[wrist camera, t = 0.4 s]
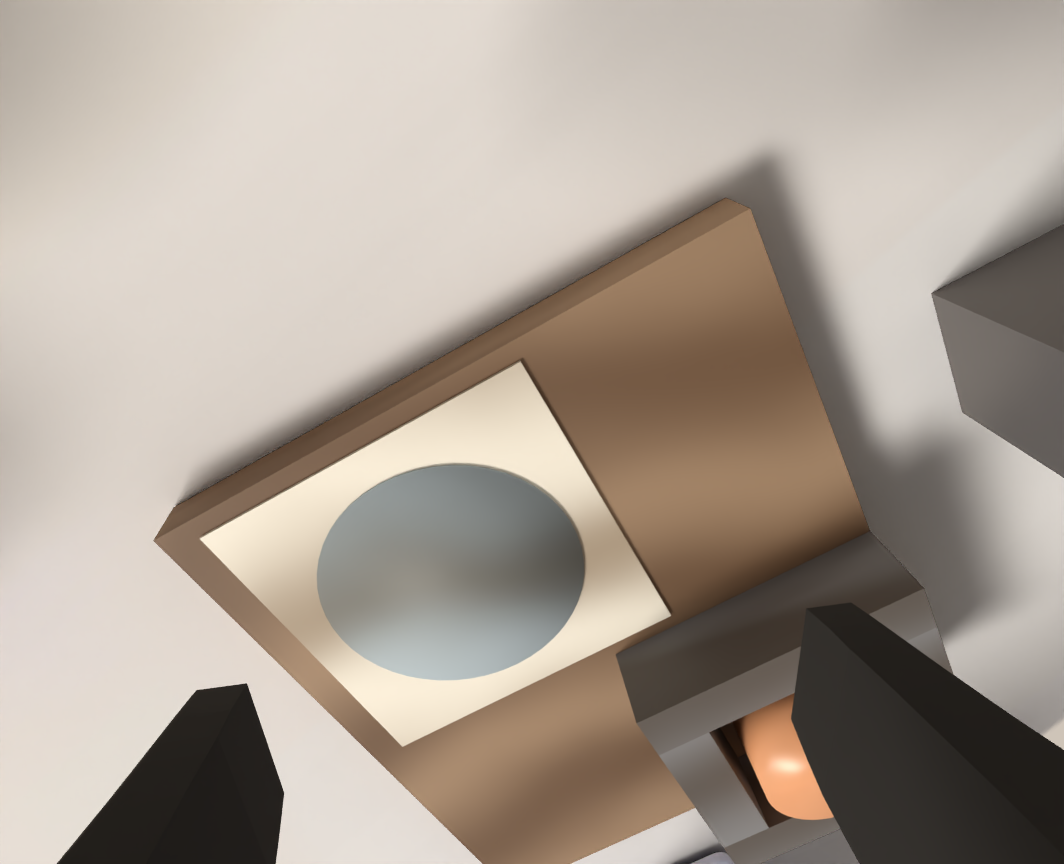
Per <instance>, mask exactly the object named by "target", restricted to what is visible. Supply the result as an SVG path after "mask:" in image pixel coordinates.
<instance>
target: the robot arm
mask: <svg viewBox="0 0 1064 864" xmlns="http://www.w3.org/2000/svg"><path fill="white" fill-rule="evenodd" d="M791 720H792V723H793V725H794V728H795V730H796V733H797V735H798V738H799V740H800V743H801V745H802V748H803V750H804V753H805V755H806V758H807V760H808V763H809V765H810V767H811V770H812V772H813V774H814V777H815V779H816V781H817V784H818V786H819V788H820V791H821V793H822V795H823V797H824V799H825V801H826V803H827V805H828V807H829V808H830V810H831V812H832V814H833V816H834V818H835V820H836V821H837V823H838V825H839V827H840V829H841V830H842V832H843V834H844V836H845V838H846V840H847V841H848V843H849V845H850V847H851V849H852V851H853V852H854V854H855V856H856V858H857V860H858V861H859V863H860V864H1064V750H1063V749H1061V748H1060V747H1058V746H1056V745H1055V744H1054V743H1052V742H1051V741H1049V740H1048V739H1046V738H1045V737H1043V736H1042V735H1040V734H1039V733H1037V732H1036V731H1034V730H1033V729H1031V728H1030V727H1028V726H1027V725H1025V724H1024V723H1022V722H1021V721H1019V720H1018V719H1016V718H1015V717H1013V716H1012V715H1010V714H1009V713H1007V712H1006V711H1005V710H1003V709H1002V708H1000V707H999V706H997V705H996V704H994V703H993V702H992V701H990V700H989V699H987V698H986V697H984V696H983V695H981V694H980V693H979V692H977V691H976V690H974V689H973V688H971V687H970V686H969V685H967V684H966V683H964V682H963V681H961V680H960V679H959V678H957V677H956V676H954V675H953V674H952V673H950V672H949V671H947V670H946V669H945V668H943V667H942V666H940V665H939V664H938V663H936V662H935V661H933V660H932V659H931V658H929V657H928V656H926V655H925V654H923V653H922V652H921V651H919V650H918V649H917V648H915V647H914V646H912V645H911V644H910V643H908V642H907V641H905V640H904V639H903V638H901V637H900V636H898V635H897V634H896V633H894V632H893V631H891V630H890V629H889V628H887V627H886V626H884V625H883V624H882V623H880V622H879V621H877V620H876V619H875V618H873V617H872V616H870V615H869V614H867V613H866V612H864V611H863V610H862V609H860V608H859V607H857V606H856V605H854V604H853V603H851V602H850V603H843V604H835V605H828V606H820V607H813V608H806V614H805V621H804V629H803V636H802V643H801V650H800V657H799V664H798V672H797V679H796V686H795V693H794V700H793V707H792V715H791ZM283 798H284V791H283V788H282V785H281V782H280V779H279V776H278V774H277V771H276V768H275V765H274V762H273V759H272V756H271V753H270V750H269V747H268V744H267V741H266V738H265V735H264V732H263V730H262V727H261V724H260V721H259V718H258V715H257V712H256V709H255V706H254V703H253V700H252V697H251V694H250V691H249V688H248V686H247V684H240V685H232V686H225V687H217V688H210V689H202V690H197V691H196V692H195V693H194V694H193V695H192V696H191V698H190V699H189V700H188V701H187V702H186V704H185V705H184V706H183V707H182V709H181V710H180V711H179V712H178V714H177V715H176V716H175V717H174V719H173V720H172V721H171V722H170V724H169V725H168V726H167V727H166V729H165V730H164V731H163V732H162V734H161V735H160V736H159V738H158V739H157V740H156V741H155V743H154V744H153V745H152V746H151V748H150V749H149V750H148V752H147V753H146V754H145V755H144V757H143V758H142V759H141V760H140V762H139V763H138V764H137V766H136V767H135V768H134V769H133V771H132V772H131V773H130V774H129V776H128V777H127V778H126V779H125V781H124V782H123V783H122V784H121V786H120V787H119V788H118V789H117V791H116V792H115V793H114V794H113V796H112V797H111V798H110V799H109V801H108V802H107V803H106V804H105V806H104V807H103V808H102V809H101V811H100V812H99V813H98V814H97V815H96V817H95V818H94V819H93V820H92V822H91V823H90V824H89V825H88V826H87V828H86V829H85V830H84V831H83V832H82V834H81V835H80V836H79V837H78V839H77V840H76V841H75V842H74V843H73V845H72V846H71V847H70V848H69V850H68V851H67V852H66V853H65V854H64V856H63V857H62V858H61V859H60V861H59V862H58V863H57V864H276V856H277V849H278V841H279V833H280V824H281V816H282V807H283ZM690 864H734V862H733V861H732V859H731V858H730V856H729V855H728V854H727V853H724V852H717V853H713V854H711V855H709V856H706V857H704V858H702V859H700V860H697V861H695V862H693V863H690Z"/></svg>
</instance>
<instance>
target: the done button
mask: <svg viewBox="0 0 1064 864" xmlns="http://www.w3.org/2000/svg"><path fill="white" fill-rule="evenodd" d="M793 700H794V693H793V694H791V695H789V696H787V697H785V698H782V699H780V700H778V701H776V702H774V703H772V704H769V705H767V706H765V707H763V708H761V709H759V710H756V711H754V712H752V713H750V714H748V715H746V716H743V717H741V718H739V719H737V720H735V721H733V725H734V727H735V729H736V731H737V734H738V736H739V738H740V740H741V742H742V745H743V747H744V749H745V751H746V753H747V756H748V758H749V760H750V762H751V764H752V767H753V769H754V771H755V773H756V776H757V778H758V780H759V782H760V784H761V787H762V789H763V791H764V793H765V795H766V798H767V800H768V802H769V803H770V804H771V806H772V807H774V808H775V809H776V810H777V811H779V812H780V813H782V814H784V815H787V816H789V817H793V818H797V819H803V820H819V819H827V818H833V817H834V816H833V814H832V812H831V810H830V808H829V807H828V805H827V803H826V801H825V799H824V797H823V795H822V793H821V791H820V788H819V786H818V784H817V781H816V779H815V777H814V774H813V772H812V770H811V767H810V765H809V763H808V760H807V758H806V755H805V753H804V750H803V748H802V745H801V743H800V740H799V738H798V735H797V733H796V730H795V728H794V725H793V723H792V720H791V715H792V707H793Z"/></svg>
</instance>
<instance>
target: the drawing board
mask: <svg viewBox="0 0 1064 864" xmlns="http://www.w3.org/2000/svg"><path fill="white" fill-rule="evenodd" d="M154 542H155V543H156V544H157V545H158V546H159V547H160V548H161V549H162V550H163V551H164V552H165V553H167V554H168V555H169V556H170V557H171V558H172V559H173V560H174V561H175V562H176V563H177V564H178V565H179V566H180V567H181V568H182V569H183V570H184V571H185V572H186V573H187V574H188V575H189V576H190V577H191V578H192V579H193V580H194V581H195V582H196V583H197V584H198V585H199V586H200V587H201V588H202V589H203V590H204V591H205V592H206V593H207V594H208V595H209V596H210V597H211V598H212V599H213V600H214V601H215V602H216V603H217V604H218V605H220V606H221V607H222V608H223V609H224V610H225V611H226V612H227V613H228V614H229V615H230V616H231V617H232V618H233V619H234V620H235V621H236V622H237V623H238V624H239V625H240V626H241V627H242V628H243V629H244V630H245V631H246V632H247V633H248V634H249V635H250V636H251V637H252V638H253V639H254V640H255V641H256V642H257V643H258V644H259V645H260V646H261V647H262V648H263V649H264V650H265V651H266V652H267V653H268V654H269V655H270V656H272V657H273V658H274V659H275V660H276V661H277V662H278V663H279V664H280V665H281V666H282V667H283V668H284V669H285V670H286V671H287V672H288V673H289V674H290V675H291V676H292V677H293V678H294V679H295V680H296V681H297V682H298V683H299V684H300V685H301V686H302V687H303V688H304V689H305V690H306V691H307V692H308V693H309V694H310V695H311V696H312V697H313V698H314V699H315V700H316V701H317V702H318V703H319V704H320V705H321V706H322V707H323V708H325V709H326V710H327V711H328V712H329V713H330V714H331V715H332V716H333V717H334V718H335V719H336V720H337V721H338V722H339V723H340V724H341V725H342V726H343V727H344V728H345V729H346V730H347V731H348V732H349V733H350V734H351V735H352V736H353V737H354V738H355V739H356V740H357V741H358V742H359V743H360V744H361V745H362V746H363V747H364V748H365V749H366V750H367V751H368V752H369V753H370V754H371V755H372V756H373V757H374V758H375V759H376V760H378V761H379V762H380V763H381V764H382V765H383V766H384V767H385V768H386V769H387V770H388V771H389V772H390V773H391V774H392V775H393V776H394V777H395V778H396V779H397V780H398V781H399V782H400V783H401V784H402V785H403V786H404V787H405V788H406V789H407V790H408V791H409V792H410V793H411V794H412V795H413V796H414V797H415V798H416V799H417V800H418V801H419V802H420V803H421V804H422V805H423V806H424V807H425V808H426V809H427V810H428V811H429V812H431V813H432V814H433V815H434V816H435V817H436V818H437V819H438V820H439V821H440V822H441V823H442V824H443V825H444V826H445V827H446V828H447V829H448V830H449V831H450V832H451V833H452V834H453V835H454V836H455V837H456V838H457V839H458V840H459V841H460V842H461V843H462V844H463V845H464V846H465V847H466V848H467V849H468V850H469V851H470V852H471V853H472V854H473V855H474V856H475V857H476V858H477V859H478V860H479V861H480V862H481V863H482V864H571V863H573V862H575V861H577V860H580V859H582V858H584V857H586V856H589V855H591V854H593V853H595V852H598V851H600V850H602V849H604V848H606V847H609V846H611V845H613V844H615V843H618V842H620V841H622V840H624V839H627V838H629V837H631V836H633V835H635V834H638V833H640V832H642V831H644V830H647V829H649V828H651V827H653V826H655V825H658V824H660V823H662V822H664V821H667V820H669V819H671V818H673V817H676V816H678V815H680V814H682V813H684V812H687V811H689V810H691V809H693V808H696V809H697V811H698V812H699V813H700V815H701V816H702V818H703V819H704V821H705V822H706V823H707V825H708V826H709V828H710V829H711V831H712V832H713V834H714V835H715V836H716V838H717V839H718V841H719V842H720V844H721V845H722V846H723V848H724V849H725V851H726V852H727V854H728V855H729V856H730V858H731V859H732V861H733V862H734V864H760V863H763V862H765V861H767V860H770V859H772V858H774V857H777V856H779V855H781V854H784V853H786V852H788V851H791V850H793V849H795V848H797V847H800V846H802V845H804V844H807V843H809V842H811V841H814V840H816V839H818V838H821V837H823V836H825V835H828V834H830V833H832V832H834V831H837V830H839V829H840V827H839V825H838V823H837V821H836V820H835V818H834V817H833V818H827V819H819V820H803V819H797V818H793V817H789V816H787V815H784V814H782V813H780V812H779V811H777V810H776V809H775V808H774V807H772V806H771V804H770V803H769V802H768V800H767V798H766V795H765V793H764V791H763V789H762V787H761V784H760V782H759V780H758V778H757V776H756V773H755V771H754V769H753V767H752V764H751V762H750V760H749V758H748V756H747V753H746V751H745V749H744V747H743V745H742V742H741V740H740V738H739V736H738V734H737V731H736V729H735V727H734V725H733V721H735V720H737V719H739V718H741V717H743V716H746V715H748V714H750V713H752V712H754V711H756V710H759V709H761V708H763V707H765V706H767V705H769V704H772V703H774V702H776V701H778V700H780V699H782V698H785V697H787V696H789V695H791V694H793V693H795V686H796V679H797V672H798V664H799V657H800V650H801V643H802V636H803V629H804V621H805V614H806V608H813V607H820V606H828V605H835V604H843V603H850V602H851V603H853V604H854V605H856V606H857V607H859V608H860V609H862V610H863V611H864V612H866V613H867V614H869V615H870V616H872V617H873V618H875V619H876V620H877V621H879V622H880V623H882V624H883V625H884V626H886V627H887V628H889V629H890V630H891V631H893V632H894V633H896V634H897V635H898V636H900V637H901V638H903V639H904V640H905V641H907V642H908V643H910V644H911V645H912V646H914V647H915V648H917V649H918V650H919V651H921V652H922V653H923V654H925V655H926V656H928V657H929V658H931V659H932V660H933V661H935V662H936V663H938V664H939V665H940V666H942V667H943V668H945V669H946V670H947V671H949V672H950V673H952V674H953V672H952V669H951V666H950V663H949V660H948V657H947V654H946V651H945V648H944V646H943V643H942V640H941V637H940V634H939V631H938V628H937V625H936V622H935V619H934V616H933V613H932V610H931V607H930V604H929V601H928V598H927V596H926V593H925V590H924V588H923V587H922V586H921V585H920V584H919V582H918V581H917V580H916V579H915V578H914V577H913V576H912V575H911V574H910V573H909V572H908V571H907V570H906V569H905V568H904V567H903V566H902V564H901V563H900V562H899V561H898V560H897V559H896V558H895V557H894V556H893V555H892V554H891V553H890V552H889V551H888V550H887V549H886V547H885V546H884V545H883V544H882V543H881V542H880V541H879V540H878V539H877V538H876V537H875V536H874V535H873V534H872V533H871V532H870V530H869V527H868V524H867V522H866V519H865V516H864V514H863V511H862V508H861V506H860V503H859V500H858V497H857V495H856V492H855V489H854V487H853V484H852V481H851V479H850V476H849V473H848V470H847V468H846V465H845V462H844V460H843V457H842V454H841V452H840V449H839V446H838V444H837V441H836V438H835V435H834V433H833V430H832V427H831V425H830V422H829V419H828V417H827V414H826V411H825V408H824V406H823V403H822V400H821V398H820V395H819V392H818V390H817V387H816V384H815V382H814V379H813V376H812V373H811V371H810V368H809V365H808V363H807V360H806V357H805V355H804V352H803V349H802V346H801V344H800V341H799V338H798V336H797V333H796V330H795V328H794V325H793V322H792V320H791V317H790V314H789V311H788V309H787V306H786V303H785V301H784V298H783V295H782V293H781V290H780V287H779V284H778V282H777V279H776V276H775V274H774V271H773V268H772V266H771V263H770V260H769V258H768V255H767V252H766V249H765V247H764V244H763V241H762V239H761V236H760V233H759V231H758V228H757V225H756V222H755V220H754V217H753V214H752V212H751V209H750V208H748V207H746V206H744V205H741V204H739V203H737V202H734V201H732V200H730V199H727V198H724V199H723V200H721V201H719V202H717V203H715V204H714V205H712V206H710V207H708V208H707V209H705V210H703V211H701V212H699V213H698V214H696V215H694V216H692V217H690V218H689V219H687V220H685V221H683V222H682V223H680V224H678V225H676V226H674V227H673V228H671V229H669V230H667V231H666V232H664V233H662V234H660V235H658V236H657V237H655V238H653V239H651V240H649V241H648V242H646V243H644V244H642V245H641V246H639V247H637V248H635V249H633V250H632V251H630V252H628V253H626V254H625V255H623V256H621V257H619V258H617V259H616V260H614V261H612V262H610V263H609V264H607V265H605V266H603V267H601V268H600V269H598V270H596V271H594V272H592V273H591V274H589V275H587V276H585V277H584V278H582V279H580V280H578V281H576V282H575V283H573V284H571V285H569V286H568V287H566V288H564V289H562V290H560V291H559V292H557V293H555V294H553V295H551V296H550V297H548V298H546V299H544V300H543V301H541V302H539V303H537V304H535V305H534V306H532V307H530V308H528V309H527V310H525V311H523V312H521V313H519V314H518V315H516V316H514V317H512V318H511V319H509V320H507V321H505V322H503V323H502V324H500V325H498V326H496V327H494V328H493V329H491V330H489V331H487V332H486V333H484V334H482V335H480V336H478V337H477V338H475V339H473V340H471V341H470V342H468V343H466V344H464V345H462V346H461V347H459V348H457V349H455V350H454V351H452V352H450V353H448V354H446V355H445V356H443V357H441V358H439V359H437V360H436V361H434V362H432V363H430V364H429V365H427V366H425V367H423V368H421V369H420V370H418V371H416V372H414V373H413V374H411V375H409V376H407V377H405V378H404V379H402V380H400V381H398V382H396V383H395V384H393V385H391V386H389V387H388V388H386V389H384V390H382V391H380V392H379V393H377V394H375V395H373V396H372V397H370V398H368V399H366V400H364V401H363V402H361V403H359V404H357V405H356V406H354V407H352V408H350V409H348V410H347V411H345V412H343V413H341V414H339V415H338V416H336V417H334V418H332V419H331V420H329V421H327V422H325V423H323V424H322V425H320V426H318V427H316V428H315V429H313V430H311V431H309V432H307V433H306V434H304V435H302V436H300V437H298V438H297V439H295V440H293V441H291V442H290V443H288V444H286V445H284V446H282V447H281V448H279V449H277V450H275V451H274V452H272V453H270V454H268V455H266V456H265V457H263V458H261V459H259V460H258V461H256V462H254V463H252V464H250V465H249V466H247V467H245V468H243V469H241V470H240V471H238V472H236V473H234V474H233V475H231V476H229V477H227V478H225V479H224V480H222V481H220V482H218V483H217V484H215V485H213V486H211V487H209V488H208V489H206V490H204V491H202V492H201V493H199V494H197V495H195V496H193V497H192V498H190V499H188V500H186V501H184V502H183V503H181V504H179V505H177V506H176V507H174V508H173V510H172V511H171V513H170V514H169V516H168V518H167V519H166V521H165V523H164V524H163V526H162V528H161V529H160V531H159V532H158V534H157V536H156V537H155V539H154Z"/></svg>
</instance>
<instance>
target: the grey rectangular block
mask: <svg viewBox="0 0 1064 864" xmlns="http://www.w3.org/2000/svg"><path fill="white" fill-rule="evenodd" d="M932 298H933V302H934V305H935V309H936V313H937V317H938V321H939V325H940V328H941V332H942V336H943V340H944V344H945V348H946V351H947V355H948V359H949V363H950V367H951V371H952V374H953V378H954V382H955V386H956V390H957V394H958V397H959V401H960V405H961V409H962V412H963V413H964V414H966V415H967V416H969V417H970V418H972V419H973V420H975V421H977V422H978V423H980V424H981V425H983V426H984V427H986V428H987V429H989V430H991V431H992V432H994V433H995V434H997V435H998V436H1000V437H1001V438H1003V439H1004V440H1006V441H1008V442H1009V443H1011V444H1012V445H1014V446H1015V447H1017V448H1018V449H1020V450H1022V451H1023V452H1025V453H1026V454H1028V455H1029V456H1031V457H1032V458H1034V459H1036V460H1037V461H1039V462H1040V463H1042V464H1043V465H1045V466H1046V467H1048V468H1049V469H1051V470H1053V471H1054V472H1056V473H1057V474H1059V475H1060V476H1062V477H1063V478H1064V224H1063V225H1061V226H1060V227H1058V228H1056V229H1054V230H1052V231H1050V232H1048V233H1046V234H1044V235H1042V236H1040V237H1039V238H1037V239H1035V240H1033V241H1031V242H1029V243H1027V244H1025V245H1023V246H1021V247H1019V248H1018V249H1016V250H1014V251H1012V252H1010V253H1008V254H1006V255H1004V256H1002V257H1000V258H998V259H997V260H995V261H993V262H991V263H989V264H987V265H985V266H983V267H981V268H979V269H977V270H976V271H974V272H972V273H970V274H968V275H966V276H964V277H962V278H960V279H958V280H956V281H955V282H953V283H951V284H949V285H947V286H945V287H943V288H941V289H939V290H937V291H935V292H933V293H932Z"/></svg>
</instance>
